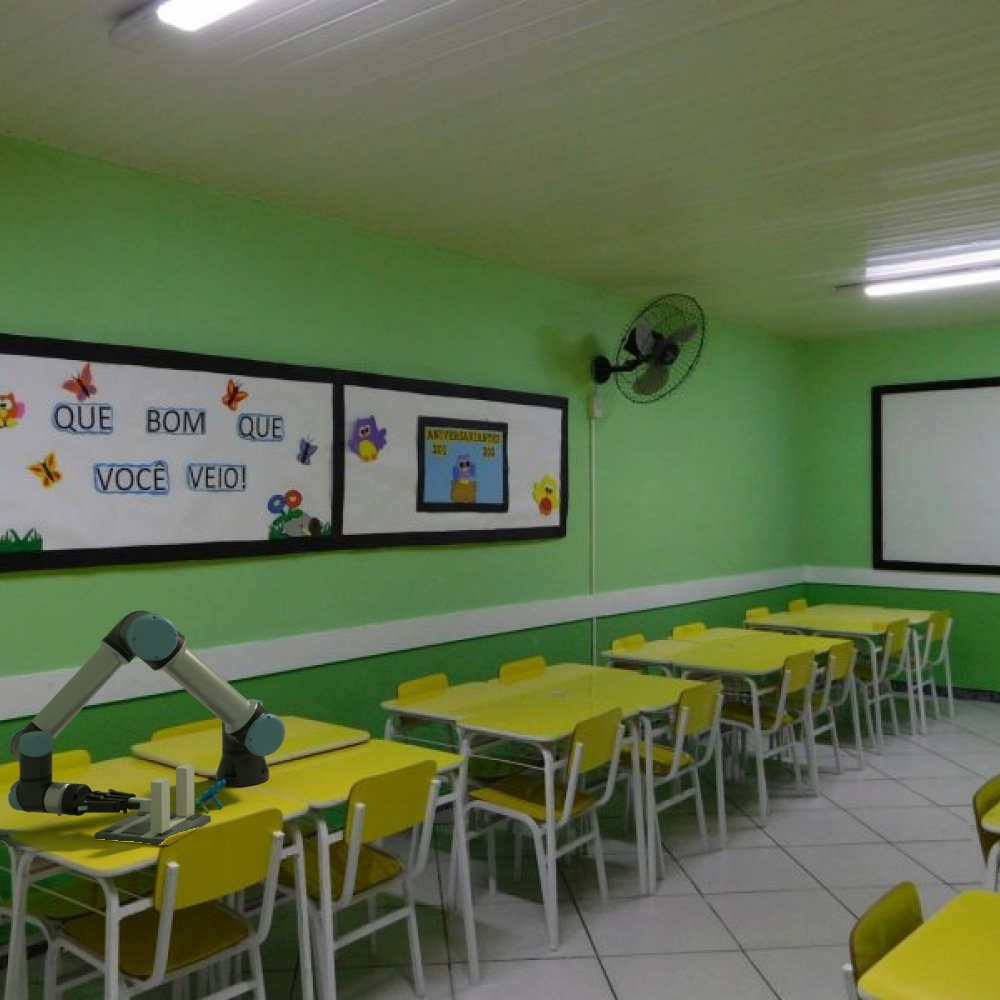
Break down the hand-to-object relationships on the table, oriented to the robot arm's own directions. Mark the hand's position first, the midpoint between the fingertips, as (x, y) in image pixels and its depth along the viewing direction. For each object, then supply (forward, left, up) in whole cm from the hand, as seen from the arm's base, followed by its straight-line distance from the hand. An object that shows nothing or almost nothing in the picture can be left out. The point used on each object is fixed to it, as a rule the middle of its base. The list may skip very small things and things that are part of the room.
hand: (153, 805), depth 240 cm
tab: (-1, +1, -6) cm, 6 cm away
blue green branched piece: (-18, -18, -8) cm, 26 cm away
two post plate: (-1, -6, -8) cm, 10 cm away
